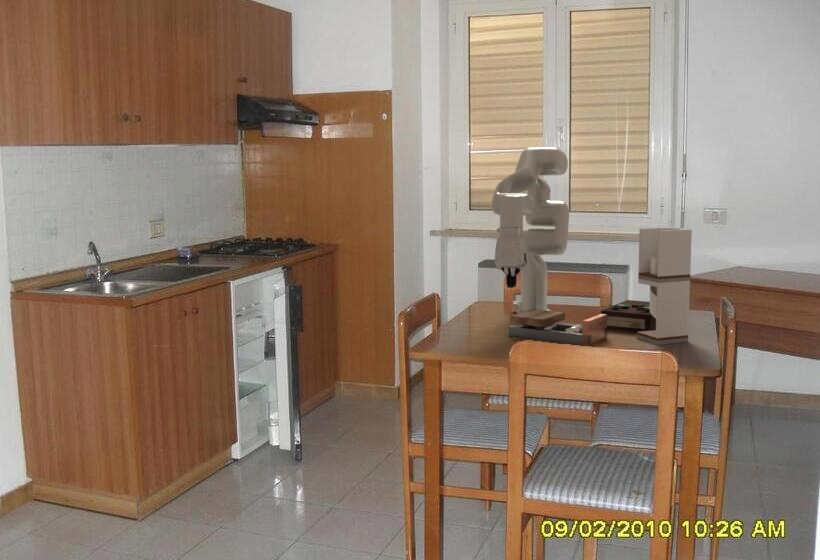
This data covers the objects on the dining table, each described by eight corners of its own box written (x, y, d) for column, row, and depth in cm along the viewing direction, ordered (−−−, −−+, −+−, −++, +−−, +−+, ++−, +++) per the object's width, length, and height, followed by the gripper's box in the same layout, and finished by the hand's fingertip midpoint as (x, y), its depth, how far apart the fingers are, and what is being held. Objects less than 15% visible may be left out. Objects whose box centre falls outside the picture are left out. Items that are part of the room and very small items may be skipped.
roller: (562, 340, 271) (562, 328, 270) (573, 336, 277) (573, 324, 277) (573, 342, 269) (574, 329, 268) (584, 337, 275) (585, 325, 274)
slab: (510, 323, 277) (510, 315, 277) (532, 316, 289) (532, 309, 289) (543, 326, 270) (543, 319, 270) (564, 319, 282) (564, 312, 282)
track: (508, 335, 279) (508, 312, 278) (529, 328, 290) (529, 306, 289) (588, 345, 263) (588, 321, 261) (606, 337, 274) (607, 314, 273)
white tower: (666, 335, 276) (669, 227, 271) (688, 341, 266) (691, 229, 261) (636, 338, 272) (639, 228, 267) (657, 344, 262) (660, 230, 257)
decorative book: (679, 300, 299) (651, 313, 275) (679, 321, 300) (650, 336, 276) (626, 296, 310) (594, 308, 286) (626, 317, 311) (594, 331, 287)
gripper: (485, 232, 283) (486, 287, 286) (526, 234, 275) (526, 290, 277) (496, 230, 289) (496, 284, 292) (536, 232, 281) (536, 287, 283)
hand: (511, 287), depth 284 cm, fingers closed
